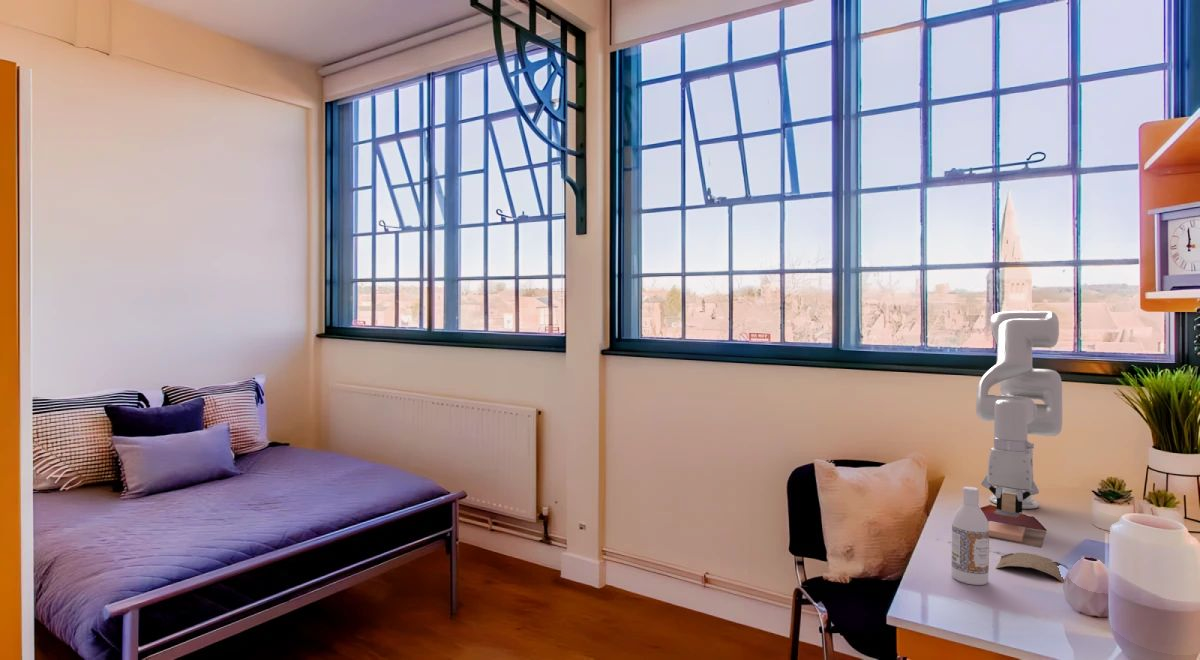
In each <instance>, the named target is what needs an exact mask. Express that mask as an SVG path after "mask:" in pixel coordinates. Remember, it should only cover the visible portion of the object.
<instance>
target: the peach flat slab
mask: <svg viewBox="0 0 1200 660" xmlns="http://www.w3.org/2000/svg"><path fill="white" fill-rule="evenodd" d="M988 521H989V523H988V525H989V536H990V537H996V538H1001V539H1006V540H1011V541H1017V542H1022V541H1023V538H1024V535H1025V530H1026V526H1021V525H1016V524H1010V523H1009V524H1008V523H1004V522H996V521H993V520H988Z"/></svg>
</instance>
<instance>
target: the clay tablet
mask: <svg viewBox="0 0 1200 660" xmlns="http://www.w3.org/2000/svg"><path fill="white" fill-rule="evenodd" d="M1059 565H1062V564H1061V563H1059V562H1058V561H1054V560H1053V559H1051V558H1048V557H1045V556H1041V555H1038V554H1037V553H1029V552H1015V553H1009V554H1004V555H1002V556H1000V560H999V562H998V564H997V565H996V567H995V569H998V568H1004V567H1021V568H1022V567H1023V568H1032V569H1035V570H1038V571H1040V572H1043V573H1046V574H1048V575H1050V576H1052V577H1055V578H1056V579H1057V580H1058V581H1059V582H1062V583H1065V582H1064V579H1063V577H1061V574H1060V571H1059V568H1058V567H1057V566H1059Z"/></svg>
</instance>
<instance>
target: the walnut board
mask: <svg viewBox="0 0 1200 660" xmlns="http://www.w3.org/2000/svg"><path fill="white" fill-rule="evenodd" d="M987 521H988V523H989V521H990V520H987ZM1025 527H1026V526H1025ZM1046 532H1047V531H1046V530H1043V529H1037V528H1031V527H1026V530H1025V535H1024V538H1023V541H1022V542H1017V541H1011V540H1006V539H1001V538H996V537H990V536H989V539H993V540H999V541H1004V542H1007V543H1008V542H1010V543H1015V544H1020V545H1025V546H1029V547H1035V548H1040V549H1041V548H1042V547H1043V543H1044V539H1045V536H1046V534H1047V533H1046Z"/></svg>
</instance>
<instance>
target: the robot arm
mask: <svg viewBox="0 0 1200 660" xmlns="http://www.w3.org/2000/svg"><path fill="white" fill-rule="evenodd" d="M1059 326H1060V322H1059V317H1058V315H1057V314H1056V313H1055V312H1053V311H1049V310H1048V311H1047V310H1046V311H1045V310H1039V311H1038V310H1037V311H1036V310H1031V311H1029V310H1028V311H1027V310H1010V311H1007V310H1006V311H1000V312H997V313H994V314H993V315H992V316H991V318H990V330H991V333H992V336H993V339H994V341H995V343H996V346H997V351H996V363H995V364H994V365H993V366H992V367H991V368H989V369H988V370H987V371H986V372H985V373H984V374H983V375H982V377H981V378H980V380H979V382H978V384H977V388H976V401H975V410H976V416H978V418H979V419H980V420H983V421H985V422H993V424H994V425H993V447H991V448H990V451H989V455H988V462H987V464H988V465H987V474H986V476H985V477H984V478H983V480H982V482H981V484H980V485H981V486H982V487H984V488H985V489H987V490H989V491H990V492H991V493H992V494H991V495H989V501H990V502H992V503H994V504H996V510H1002V493H1004V492H1008V493H1015V494H1017V498H1016V507H1015V513H1020V514H1022V513H1023V510H1024V509H1026V510H1027V509H1028V510H1030V509H1036V508H1038V507H1039V503H1038V501H1037V500H1034V499H1033V496H1034V495H1038V494H1039V493H1040V489H1039V488H1038V486H1037V484H1036V482H1035V481H1034V468H1033V467H1034V466H1033V465H1034V464H1033V463H1034V461H1033V459H1034V458H1033V457H1034V452H1033V451H1034V450H1033V449H1034V448H1035V444H1034V443H1032V442H1029V440H1028V435H1034V436H1035V435H1036V436H1045V437H1054V436H1055V437H1056V436H1058V435H1060V434H1061V432H1062V428H1063V383H1062V378H1061V375H1060V373H1059V372H1057V371H1056V370H1053V369H1050V368H1034V367H1033V348H1048V349H1049V348H1054V347H1055V346H1056V345H1057V343H1058V341H1059V336H1060V327H1059ZM998 383H999V389H1000V390H999V391H1000V393H1001V394H1002V395H997V394H989V391H990V390H991V388H992V387H993V386H995V385H997V384H998ZM1034 400H1040V401H1042V402H1043V403H1044V404H1043V403H1035V401H1034Z"/></svg>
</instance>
